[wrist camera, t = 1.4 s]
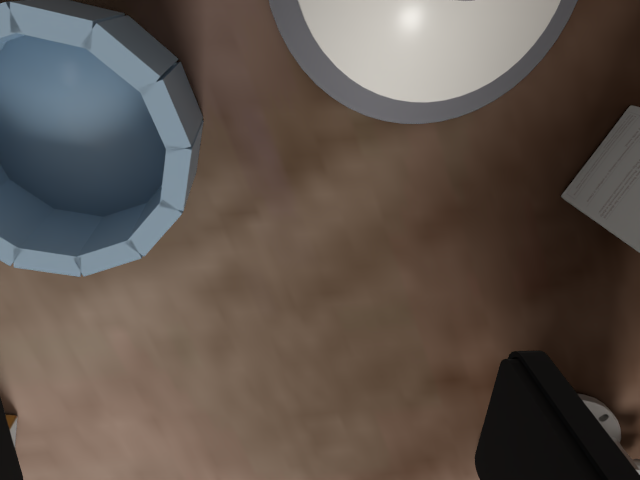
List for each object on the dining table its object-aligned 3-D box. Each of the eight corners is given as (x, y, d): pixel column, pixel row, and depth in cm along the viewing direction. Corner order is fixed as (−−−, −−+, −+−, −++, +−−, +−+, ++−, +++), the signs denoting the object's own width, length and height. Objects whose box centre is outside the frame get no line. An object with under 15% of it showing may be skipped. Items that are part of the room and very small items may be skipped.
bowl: (215, 35, 29) (205, 47, 23) (186, 241, 34) (172, 289, 29) (-44, -27, 26) (-121, -29, 21) (-31, 206, 32) (-91, 252, 26)
